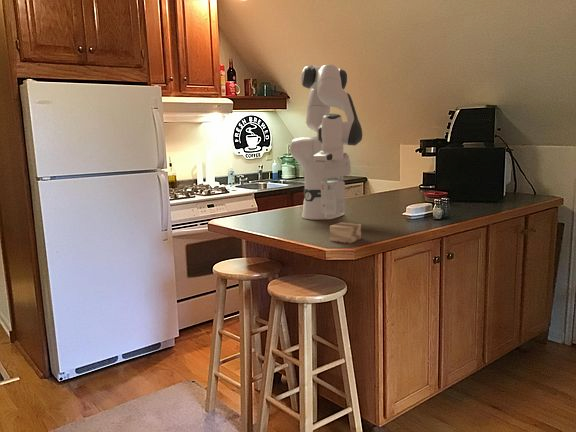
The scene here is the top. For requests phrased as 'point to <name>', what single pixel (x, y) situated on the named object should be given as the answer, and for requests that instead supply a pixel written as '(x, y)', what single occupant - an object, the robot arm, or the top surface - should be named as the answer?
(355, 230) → the maple block
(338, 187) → the small box
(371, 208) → the top surface
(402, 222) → the top surface
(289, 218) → the top surface
